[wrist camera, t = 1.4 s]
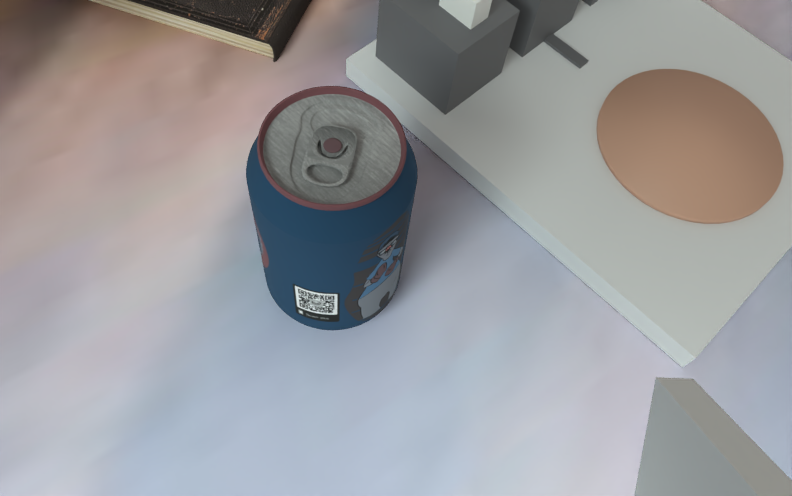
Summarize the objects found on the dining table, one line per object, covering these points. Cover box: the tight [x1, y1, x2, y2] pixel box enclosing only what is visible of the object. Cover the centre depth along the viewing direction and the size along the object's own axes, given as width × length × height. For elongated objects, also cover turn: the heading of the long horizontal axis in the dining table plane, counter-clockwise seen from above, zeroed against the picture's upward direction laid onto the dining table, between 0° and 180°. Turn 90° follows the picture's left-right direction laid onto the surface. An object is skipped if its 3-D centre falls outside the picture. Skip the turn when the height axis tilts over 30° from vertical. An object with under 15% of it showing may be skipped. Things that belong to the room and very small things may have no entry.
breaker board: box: [346, 0, 792, 368], centre depth 41 cm, size 26×22×8 cm
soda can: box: [246, 86, 417, 330], centre depth 32 cm, size 7×7×12 cm
